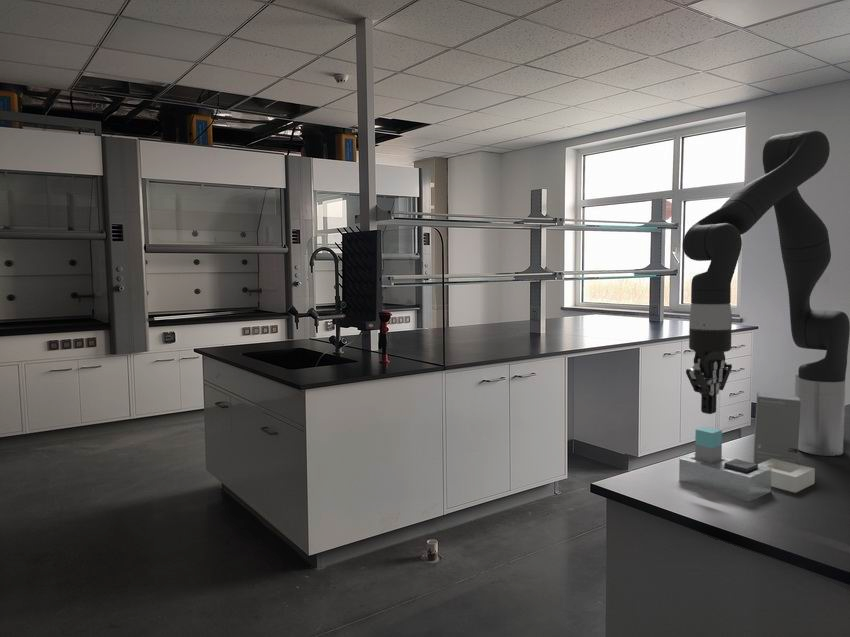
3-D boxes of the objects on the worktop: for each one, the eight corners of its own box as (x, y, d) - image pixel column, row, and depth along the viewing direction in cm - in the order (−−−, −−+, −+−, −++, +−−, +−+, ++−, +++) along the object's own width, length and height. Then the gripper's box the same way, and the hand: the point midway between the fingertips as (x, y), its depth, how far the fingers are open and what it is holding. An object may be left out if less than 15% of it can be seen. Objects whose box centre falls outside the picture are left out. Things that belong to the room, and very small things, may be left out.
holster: (771, 477, 124) (772, 458, 123) (814, 488, 117) (814, 468, 117) (752, 485, 119) (752, 466, 119) (795, 497, 113) (795, 477, 112)
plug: (721, 483, 119) (722, 430, 118) (711, 487, 117) (712, 433, 116) (704, 479, 122) (705, 426, 121) (694, 482, 120) (695, 429, 119)
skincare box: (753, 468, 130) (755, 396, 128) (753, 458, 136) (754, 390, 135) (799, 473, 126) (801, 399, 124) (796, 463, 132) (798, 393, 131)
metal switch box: (701, 476, 125) (701, 447, 124) (770, 496, 113) (771, 464, 113) (679, 485, 120) (679, 454, 120) (749, 506, 109) (750, 473, 108)
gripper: (709, 330, 110) (708, 421, 112) (746, 325, 118) (744, 411, 119) (673, 327, 116) (672, 414, 118) (710, 323, 124) (709, 404, 125)
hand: (708, 412), depth 118 cm, fingers closed
